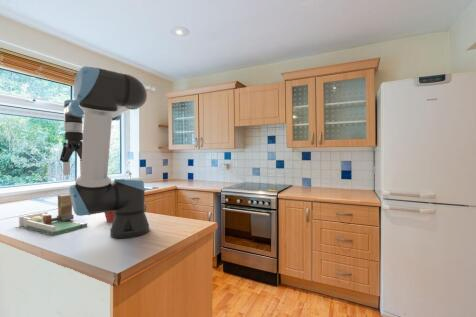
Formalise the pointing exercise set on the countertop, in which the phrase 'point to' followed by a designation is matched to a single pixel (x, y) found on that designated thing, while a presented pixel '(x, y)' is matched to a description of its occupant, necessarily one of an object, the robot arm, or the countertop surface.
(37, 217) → the ball
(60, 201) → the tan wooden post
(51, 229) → the pitch
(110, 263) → the countertop surface
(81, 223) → the rail
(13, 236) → the countertop surface
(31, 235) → the countertop surface
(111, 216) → the flower pot
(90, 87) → the robot arm
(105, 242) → the countertop surface
